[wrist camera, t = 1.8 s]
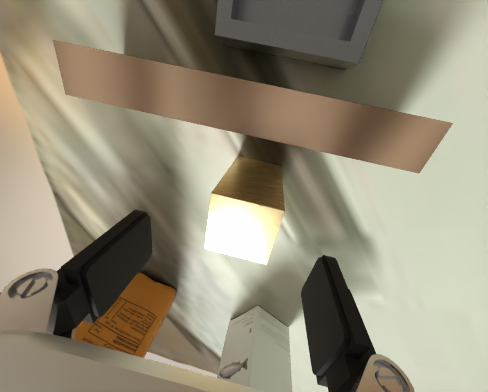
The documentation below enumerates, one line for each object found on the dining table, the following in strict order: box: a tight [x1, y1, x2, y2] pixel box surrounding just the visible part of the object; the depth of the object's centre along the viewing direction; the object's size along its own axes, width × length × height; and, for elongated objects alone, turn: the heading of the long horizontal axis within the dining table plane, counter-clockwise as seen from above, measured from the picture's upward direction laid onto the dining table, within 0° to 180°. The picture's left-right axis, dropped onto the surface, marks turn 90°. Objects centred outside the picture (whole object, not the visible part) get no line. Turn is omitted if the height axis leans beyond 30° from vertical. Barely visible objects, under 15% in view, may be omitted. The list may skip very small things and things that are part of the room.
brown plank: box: [53, 40, 453, 173], centre depth 14 cm, size 24×3×6 cm, turn 80°
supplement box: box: [217, 306, 292, 392], centre depth 26 cm, size 7×7×13 cm
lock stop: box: [205, 156, 285, 264], centre depth 16 cm, size 4×4×9 cm
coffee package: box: [75, 272, 176, 358], centre depth 23 cm, size 10×12×22 cm
